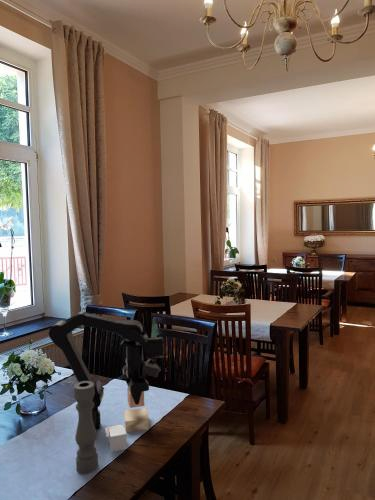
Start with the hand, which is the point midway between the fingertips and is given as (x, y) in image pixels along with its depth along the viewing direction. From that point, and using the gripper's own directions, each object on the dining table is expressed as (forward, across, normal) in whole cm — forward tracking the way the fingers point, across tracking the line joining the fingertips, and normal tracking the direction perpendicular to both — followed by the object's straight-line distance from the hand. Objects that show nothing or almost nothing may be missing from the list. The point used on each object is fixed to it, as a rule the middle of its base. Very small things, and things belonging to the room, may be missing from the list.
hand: (135, 400), depth 139 cm
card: (+9, -2, +8) cm, 12 cm away
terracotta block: (+1, 0, 0) cm, 1 cm away
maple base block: (+9, 0, 0) cm, 9 cm away
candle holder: (+9, -19, +18) cm, 28 cm away
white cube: (+9, -11, +8) cm, 16 cm away
